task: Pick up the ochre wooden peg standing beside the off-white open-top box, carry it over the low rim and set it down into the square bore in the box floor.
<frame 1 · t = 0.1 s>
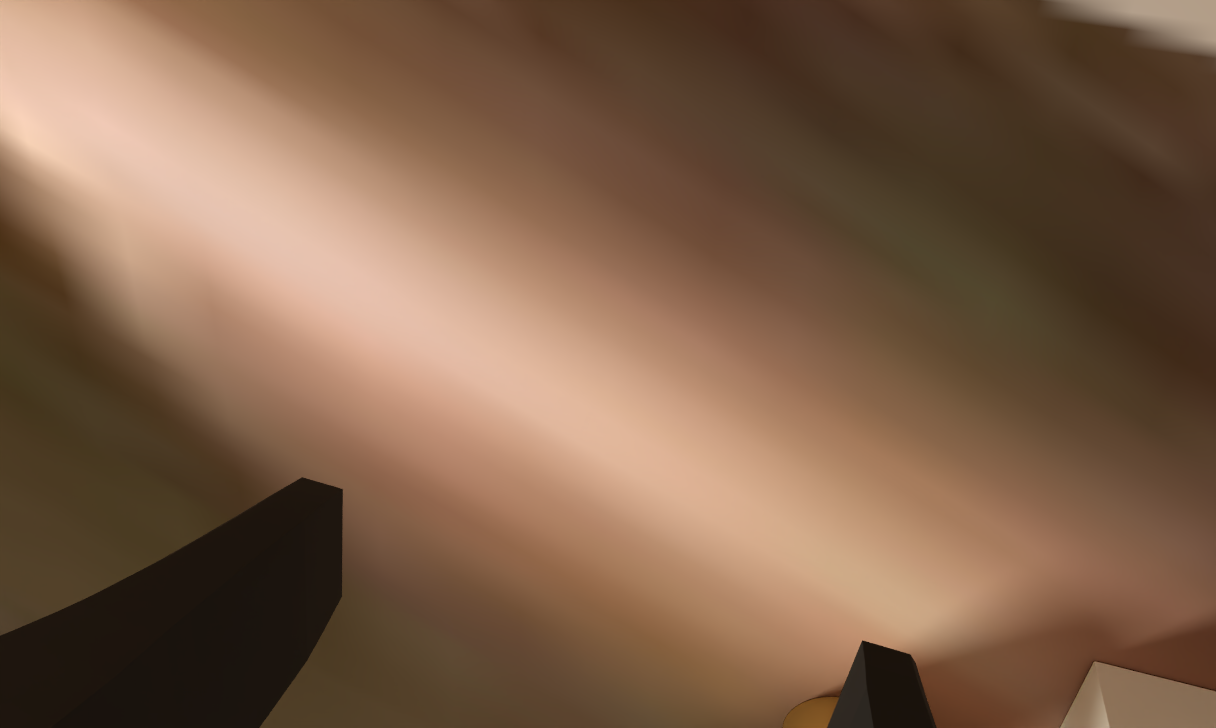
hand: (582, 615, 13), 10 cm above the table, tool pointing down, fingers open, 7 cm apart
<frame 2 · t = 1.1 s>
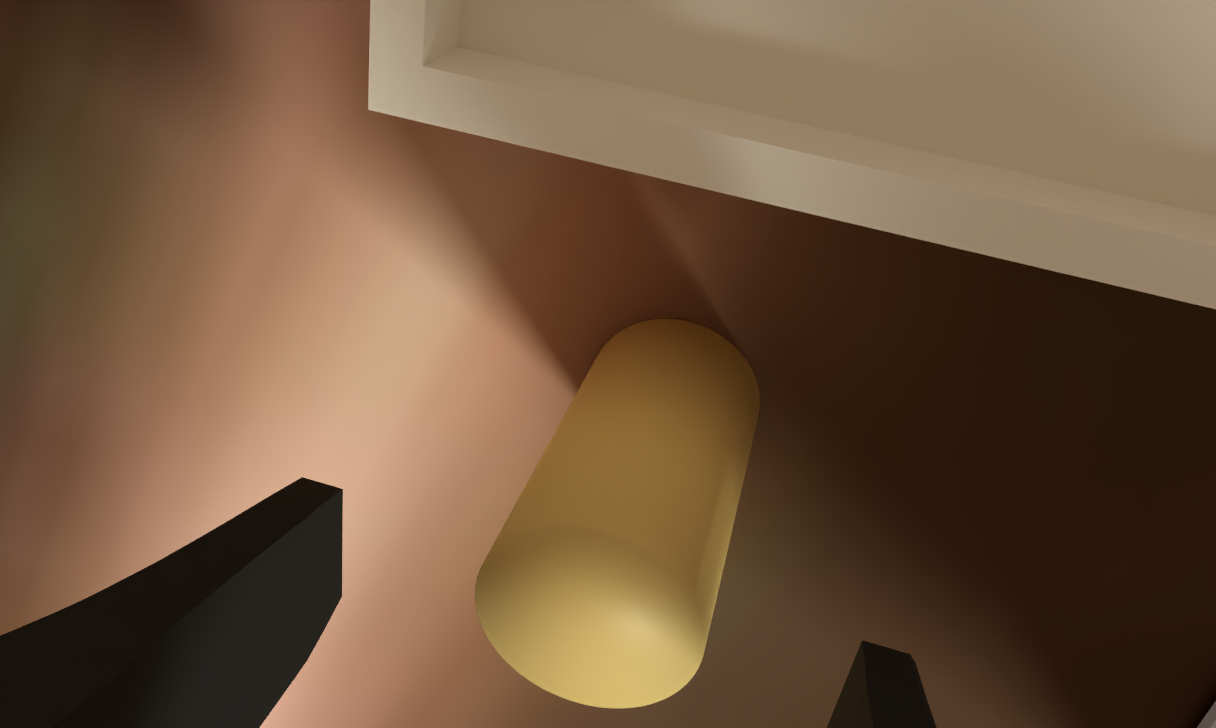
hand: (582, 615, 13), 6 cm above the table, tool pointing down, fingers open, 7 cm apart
peg: (673, 396, 18), on the table
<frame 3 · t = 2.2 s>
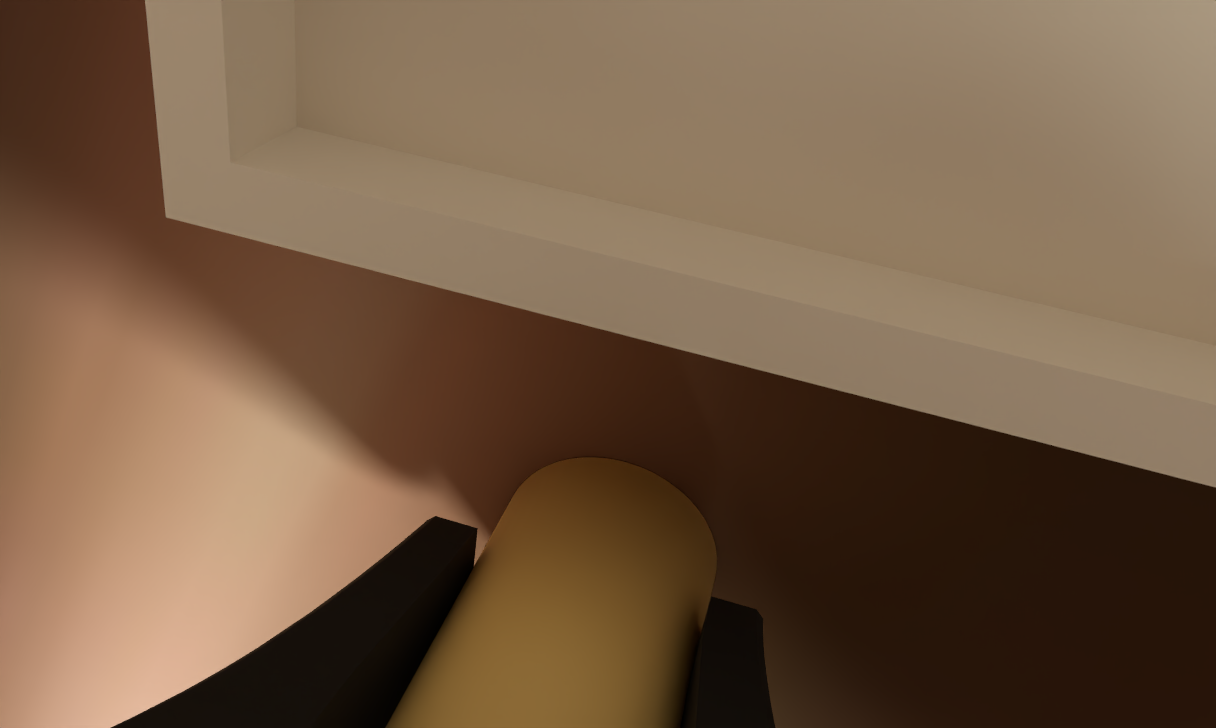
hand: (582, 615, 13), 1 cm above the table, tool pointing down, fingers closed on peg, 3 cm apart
peg: (608, 548, 14), on the table, touching gripper
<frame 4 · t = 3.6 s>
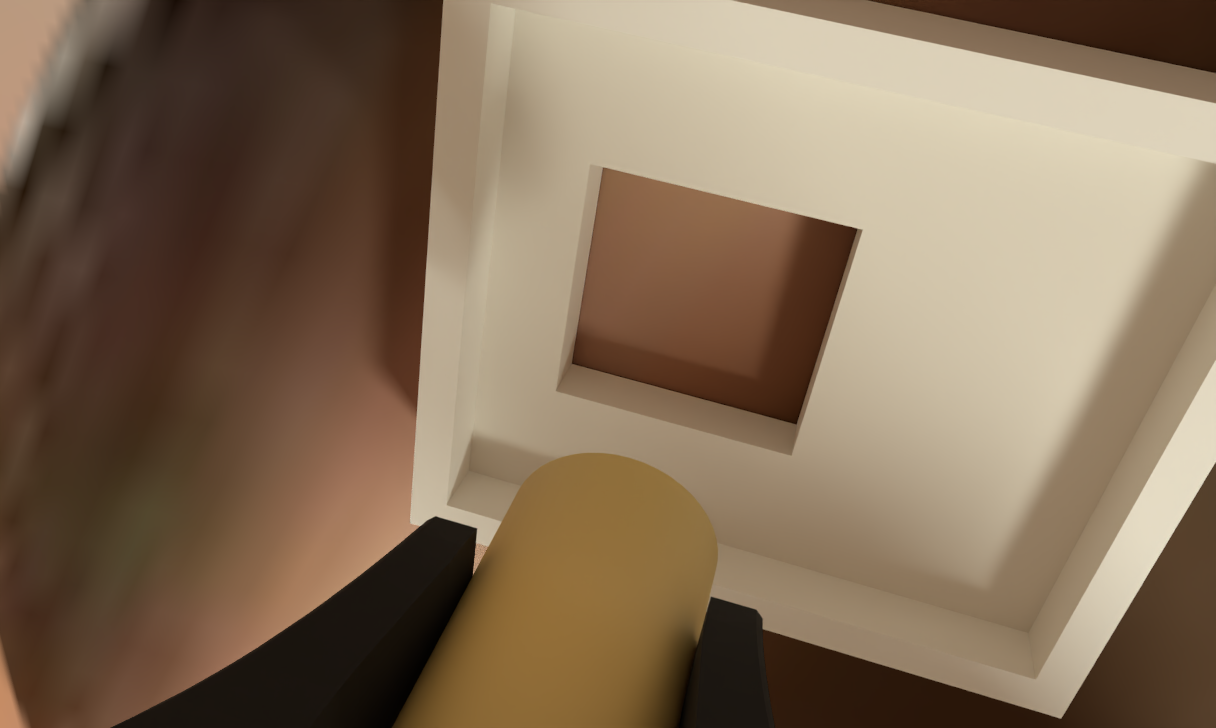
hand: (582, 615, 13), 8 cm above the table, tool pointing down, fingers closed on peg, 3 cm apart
peg: (612, 539, 15), point 7 cm above the table, touching gripper
bore box: (803, 316, 20), on the table
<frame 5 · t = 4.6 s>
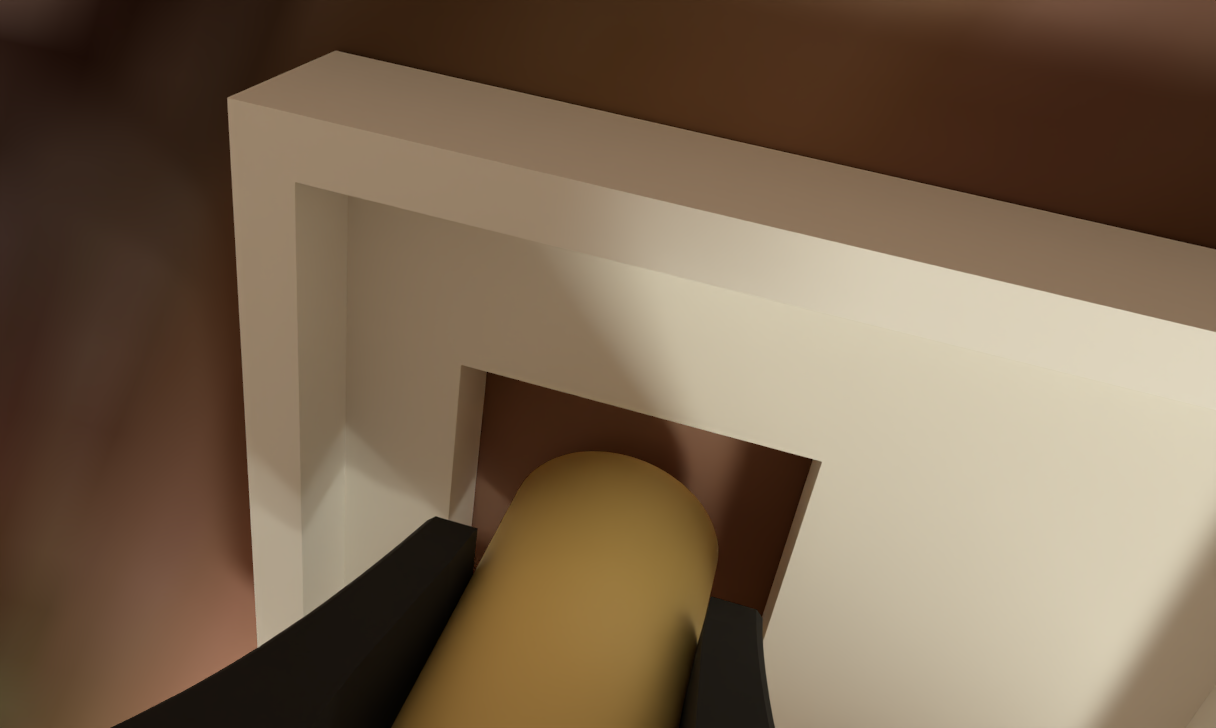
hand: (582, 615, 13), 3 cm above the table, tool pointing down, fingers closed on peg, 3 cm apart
peg: (612, 538, 15), point 1 cm above the table, touching gripper
bore box: (752, 537, 15), on the table
when the fingers open (2 cm above the table, at t = 5.0 s): peg stays where it is, resting in bore box.
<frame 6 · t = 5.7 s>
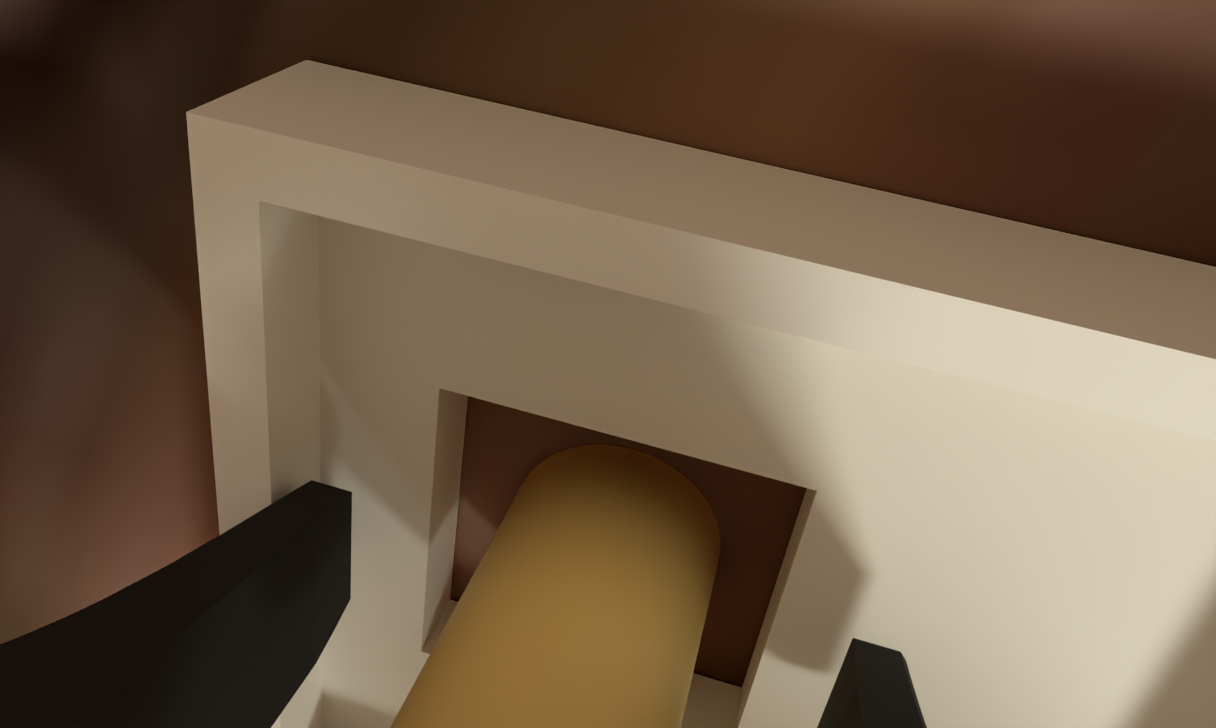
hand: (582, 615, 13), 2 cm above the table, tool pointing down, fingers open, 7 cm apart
peg: (615, 532, 15), resting in bore box
bore box: (745, 564, 15), on the table
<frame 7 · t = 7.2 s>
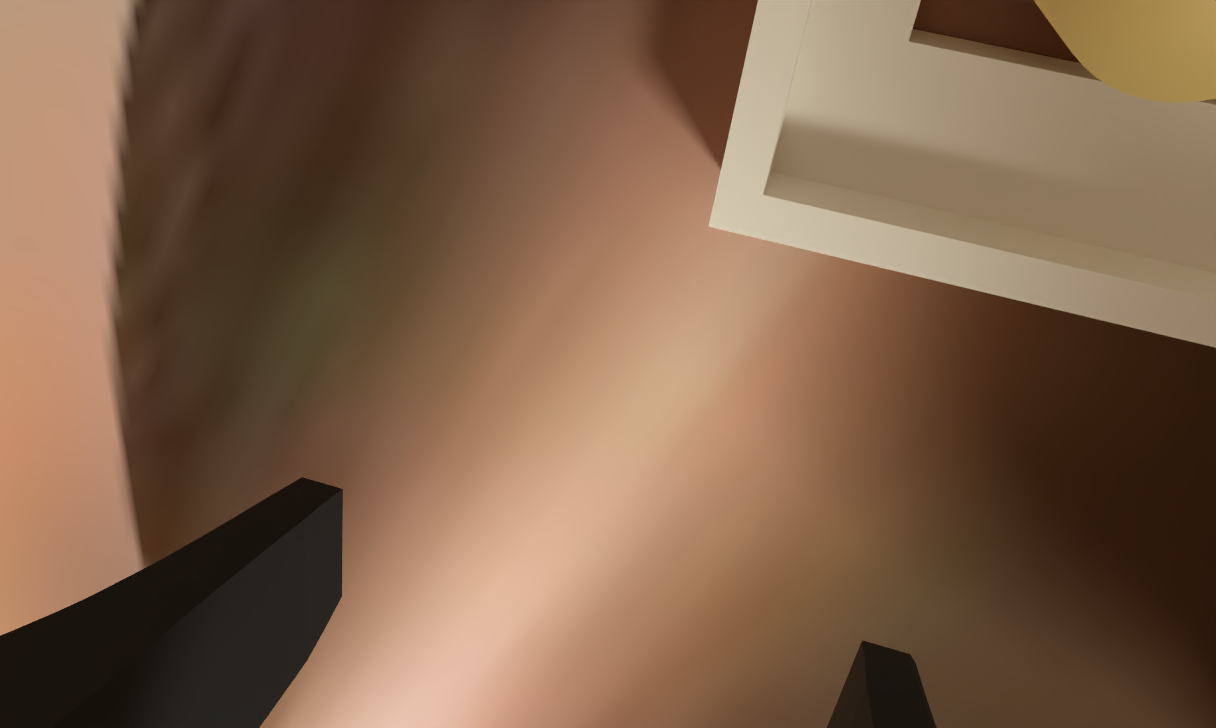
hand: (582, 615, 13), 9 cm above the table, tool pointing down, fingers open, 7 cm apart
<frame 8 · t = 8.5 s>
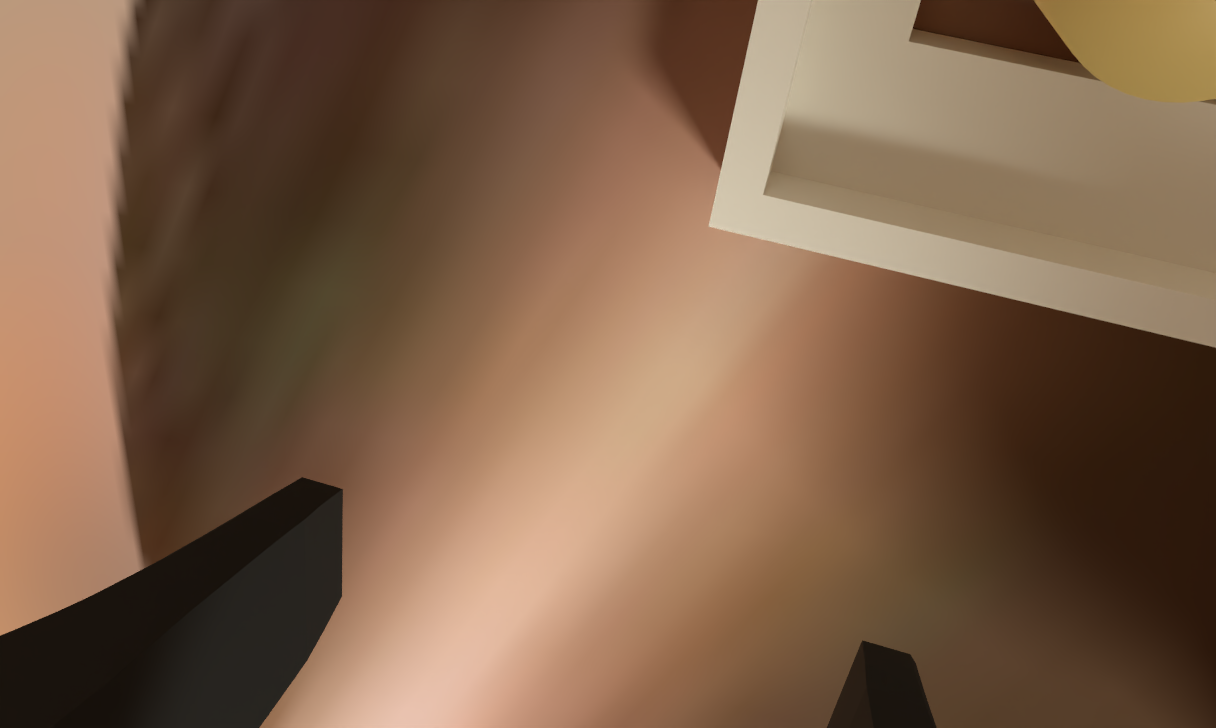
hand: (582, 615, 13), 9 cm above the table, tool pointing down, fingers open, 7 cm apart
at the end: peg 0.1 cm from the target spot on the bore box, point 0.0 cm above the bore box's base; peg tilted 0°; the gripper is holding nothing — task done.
